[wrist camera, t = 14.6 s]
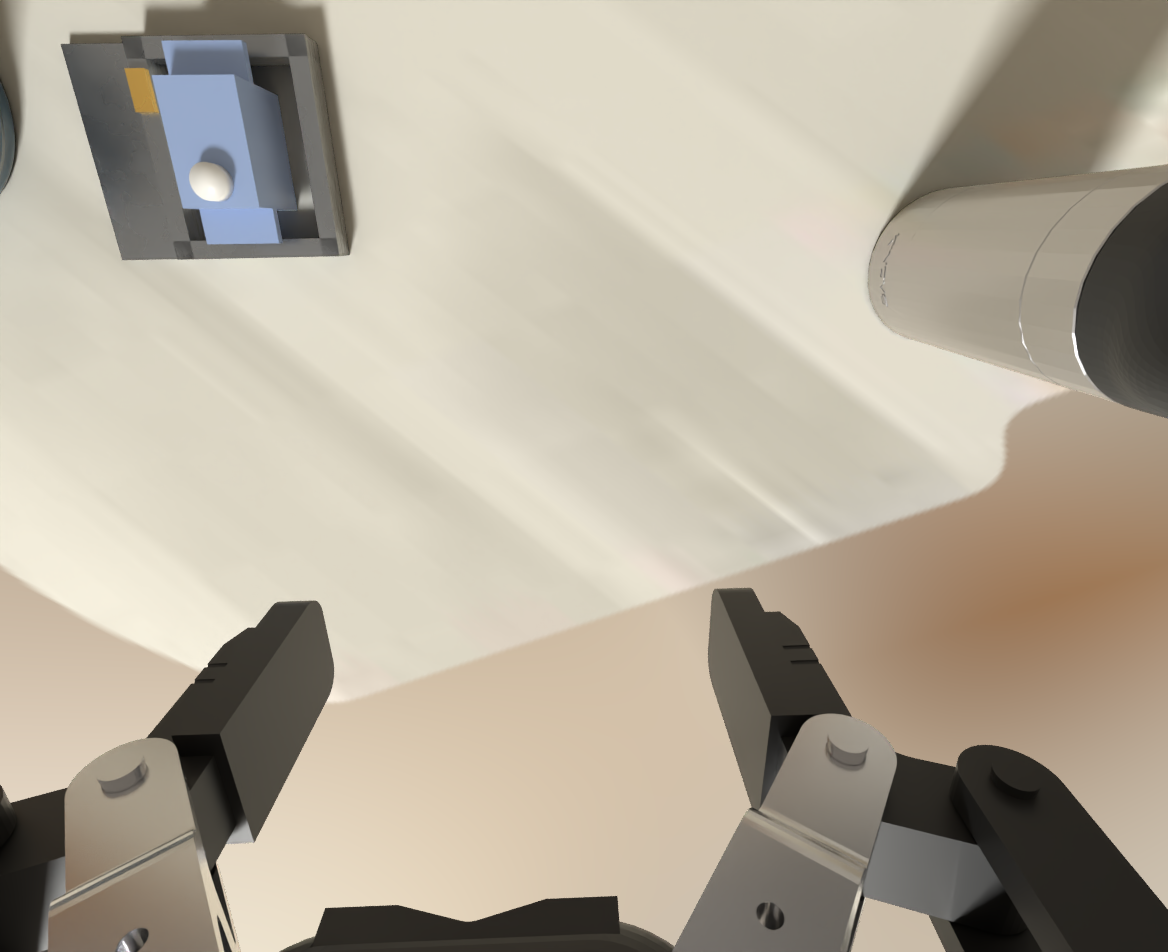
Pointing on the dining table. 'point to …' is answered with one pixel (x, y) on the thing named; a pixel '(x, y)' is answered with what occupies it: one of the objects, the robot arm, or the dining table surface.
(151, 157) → the chassis plate
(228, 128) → the block
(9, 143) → the canister
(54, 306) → the dining table surface
